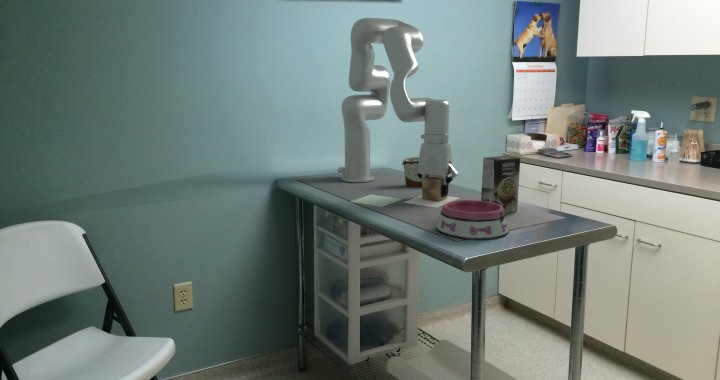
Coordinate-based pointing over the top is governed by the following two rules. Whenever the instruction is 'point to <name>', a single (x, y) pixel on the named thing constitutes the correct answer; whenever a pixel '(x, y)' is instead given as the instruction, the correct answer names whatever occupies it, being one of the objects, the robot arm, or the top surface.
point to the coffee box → (501, 181)
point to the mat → (376, 200)
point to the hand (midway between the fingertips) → (434, 194)
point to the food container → (411, 172)
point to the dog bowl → (472, 220)
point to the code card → (430, 203)
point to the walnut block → (432, 188)
